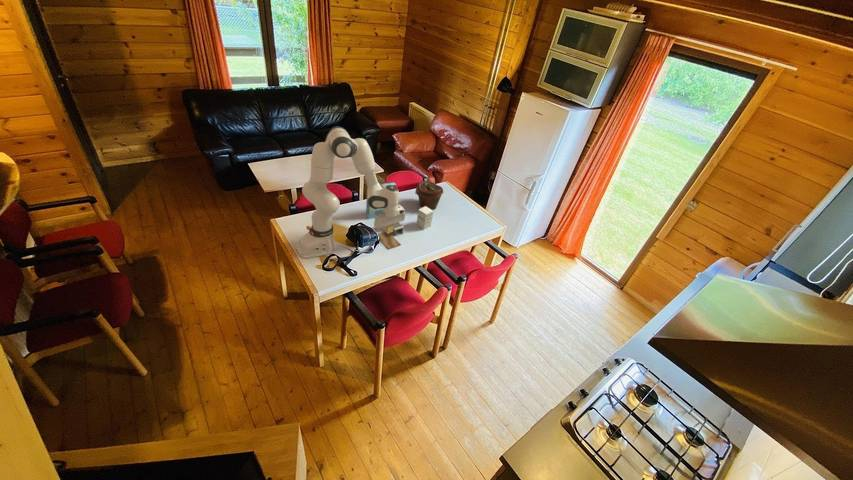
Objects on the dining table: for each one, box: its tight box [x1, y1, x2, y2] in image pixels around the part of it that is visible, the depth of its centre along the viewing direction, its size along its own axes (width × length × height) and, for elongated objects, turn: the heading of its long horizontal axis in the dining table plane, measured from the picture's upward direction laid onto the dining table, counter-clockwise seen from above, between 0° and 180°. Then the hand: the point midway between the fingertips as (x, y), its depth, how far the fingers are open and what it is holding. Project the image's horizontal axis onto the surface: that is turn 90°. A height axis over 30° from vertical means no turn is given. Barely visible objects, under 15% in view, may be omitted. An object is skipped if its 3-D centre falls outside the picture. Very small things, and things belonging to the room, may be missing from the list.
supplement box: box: [415, 206, 434, 230], centre depth 244 cm, size 7×7×13 cm
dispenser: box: [390, 222, 404, 237], centre depth 236 cm, size 12×7×10 cm, turn 36°
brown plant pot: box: [414, 180, 444, 211], centre depth 262 cm, size 18×20×18 cm
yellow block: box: [381, 225, 393, 234], centre depth 228 cm, size 12×4×4 cm, turn 37°
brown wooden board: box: [377, 231, 402, 250], centre depth 230 cm, size 9×16×1 cm, turn 36°
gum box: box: [365, 181, 397, 220], centre depth 244 cm, size 20×5×23 cm, turn 123°
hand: (389, 229), depth 225 cm, fingers closed on yellow block, 4 cm apart
